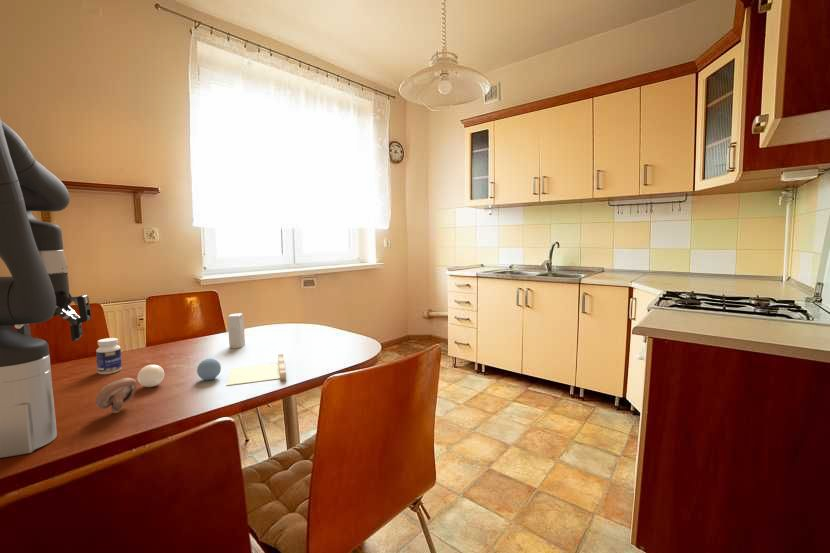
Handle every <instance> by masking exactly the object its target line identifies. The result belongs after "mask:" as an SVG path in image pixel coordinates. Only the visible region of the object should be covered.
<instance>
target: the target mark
mask: <svg viewBox="0 0 830 553" xmlns="http://www.w3.org/2000/svg"><path fill="white" fill-rule="evenodd" d="M274 379H275V380H280V372H279V362H277V363H269V364H266V363H265V364H259V365H249V366H242V367H241V366H239V367H232V368H230V370H229V374H228V378H227V382H226V386H227V387H229V386H235V385H236V386H237V385H243V384H251V382H252V383H259V382H264V381H265V382H266V381H275V380H274Z"/></svg>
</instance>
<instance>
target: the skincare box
mask: <svg viewBox="0 0 830 553" xmlns="http://www.w3.org/2000/svg"><path fill="white" fill-rule="evenodd" d="M227 327H228V328H227V329H228V343H229V349H240V348H242V347H243V346H244V345H245V343H246V338H245V322H244V312H243V313H242V312H240V313H239V312H238V313H235V312H234V313H231V314H228V316H227Z"/></svg>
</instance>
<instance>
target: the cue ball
mask: <svg viewBox="0 0 830 553" xmlns="http://www.w3.org/2000/svg"><path fill="white" fill-rule="evenodd" d="M164 378H165V371H164V368H163V367H161V366H160V365H157V364H148V365H146V366H143V367H142V368H141V369H140V370H139V372H138V374H137V381H138V383H139V384H140V385H141V386H142V387H145V388H153V387H156V386H158V385H159V384H161V383H162V382H163V380H164Z"/></svg>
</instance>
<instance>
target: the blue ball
mask: <svg viewBox="0 0 830 553" xmlns="http://www.w3.org/2000/svg"><path fill="white" fill-rule="evenodd" d="M221 371H222V366H221V363H220V361H218V360H216V359H215V358H206V359H204V360H202V361H201V362H200V363H199V364H198V366H197V368H196V372H197V375H198V376H199V378H200V379H202V380H204V381H210V380H214V379H215V378H217V377H218V376H219V374H220V373H221Z"/></svg>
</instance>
